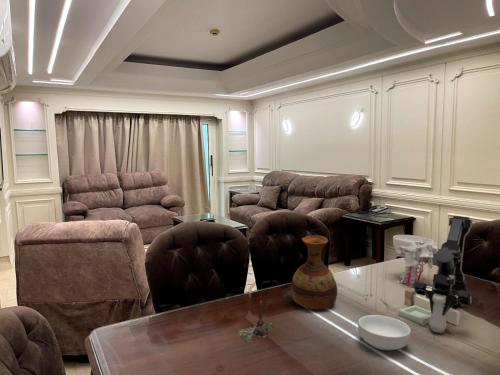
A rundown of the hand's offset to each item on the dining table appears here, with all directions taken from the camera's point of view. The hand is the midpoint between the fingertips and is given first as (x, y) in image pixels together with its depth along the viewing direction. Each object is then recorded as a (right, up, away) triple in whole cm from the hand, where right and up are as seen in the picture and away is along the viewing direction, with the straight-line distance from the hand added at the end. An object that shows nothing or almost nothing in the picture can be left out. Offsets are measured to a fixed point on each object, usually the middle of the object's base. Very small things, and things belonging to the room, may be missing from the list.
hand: (437, 313), depth 133 cm
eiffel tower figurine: (-64, -7, -1) cm, 64 cm away
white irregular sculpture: (+16, -4, +55) cm, 58 cm away
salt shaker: (+1, -7, +2) cm, 7 cm away
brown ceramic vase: (-40, -5, +27) cm, 48 cm away
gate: (+7, -6, +17) cm, 19 cm away
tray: (0, -6, +14) cm, 16 cm away
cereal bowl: (-23, -8, -8) cm, 25 cm away
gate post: (+2, -6, +27) cm, 28 cm away
